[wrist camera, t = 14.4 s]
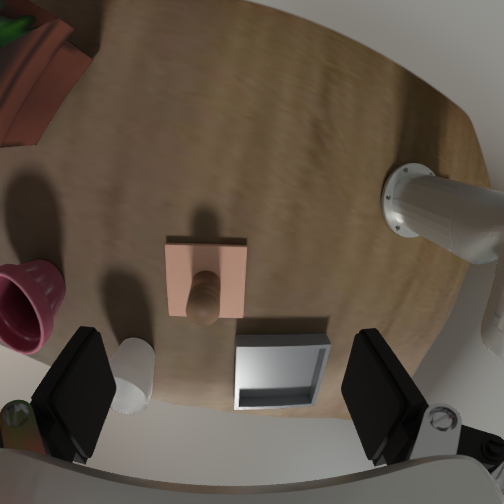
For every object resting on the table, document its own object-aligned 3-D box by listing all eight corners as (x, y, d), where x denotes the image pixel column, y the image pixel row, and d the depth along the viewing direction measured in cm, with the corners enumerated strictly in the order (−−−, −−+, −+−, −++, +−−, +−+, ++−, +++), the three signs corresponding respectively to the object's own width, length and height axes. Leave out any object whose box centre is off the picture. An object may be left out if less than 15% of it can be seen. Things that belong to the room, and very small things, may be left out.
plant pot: (29, 229, 40) (-16, 254, 28) (87, 273, 44) (51, 311, 32) (13, 288, 43) (-23, 320, 31) (65, 329, 47) (36, 369, 35)
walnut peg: (220, 270, 44) (219, 296, 37) (220, 296, 45) (219, 325, 38) (191, 270, 44) (184, 296, 36) (192, 296, 45) (186, 325, 38)
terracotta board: (246, 245, 44) (247, 247, 43) (242, 314, 48) (243, 318, 47) (166, 242, 43) (165, 244, 42) (170, 312, 47) (169, 315, 46)
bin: (325, 333, 51) (331, 344, 47) (310, 393, 56) (314, 405, 53) (235, 334, 49) (236, 346, 46) (233, 397, 54) (234, 409, 51)
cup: (144, 325, 47) (126, 370, 36) (169, 363, 50) (159, 410, 39) (106, 338, 48) (83, 381, 37) (131, 373, 51) (116, 417, 40)
